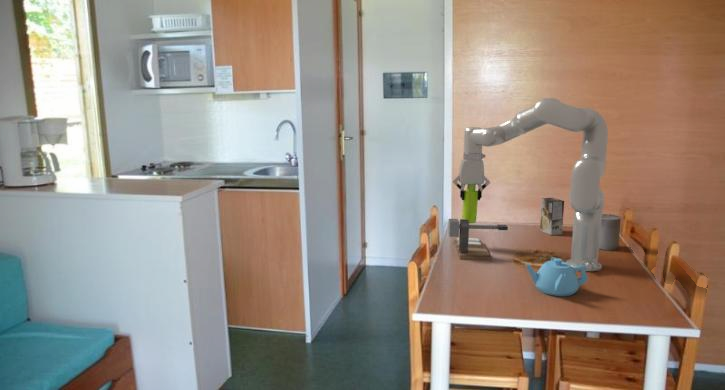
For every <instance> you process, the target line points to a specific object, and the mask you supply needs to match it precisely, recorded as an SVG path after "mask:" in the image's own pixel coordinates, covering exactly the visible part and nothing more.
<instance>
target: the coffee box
mask: <svg viewBox="0 0 725 390" xmlns="http://www.w3.org/2000/svg"><path fill="white" fill-rule="evenodd" d="M564 210H565V200H562V199H558V198H555V197H543V198H541V209H540V211H541V212H540V222H539V223H540V225H539V226H540V227H539V231H540V232H542V233H545V234H547V235H550V236H559V235H563V224H564V213H565V211H564Z"/></svg>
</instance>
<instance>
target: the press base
mask: <svg viewBox="0 0 725 390" xmlns="http://www.w3.org/2000/svg"><path fill="white" fill-rule="evenodd" d="M459 225H461V229H459V237H456V238H455V239H453V242H452V243H453V246H454V248H455V252H456V253H457V256H458V259H459V260H480V261H481V260H483V261H484V260H487V261H489V260H491V254H490V253H489V251H488V249H487V248H486V246H485V244H484V242H483V241H482V239H479V238H478V237H475V238H474V237H469V235H470V229H469V225H470V223H469V221H468V219H462V218H460V219H459Z"/></svg>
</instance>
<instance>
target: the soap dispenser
mask: <svg viewBox="0 0 725 390" xmlns="http://www.w3.org/2000/svg"><path fill="white" fill-rule="evenodd" d="M466 185H467V188H466V189H464V200H462V216H461V219H468V221H469V224H475V223H477V214H478V213H477V212H478V201H479V200H478V190H476V187H477V184H466Z"/></svg>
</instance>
